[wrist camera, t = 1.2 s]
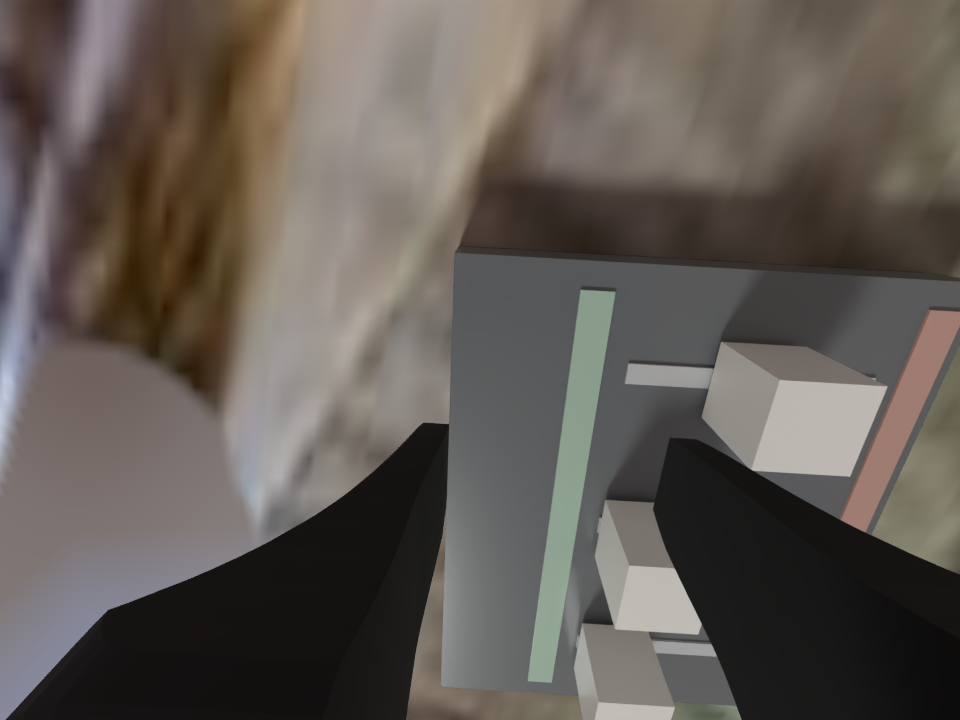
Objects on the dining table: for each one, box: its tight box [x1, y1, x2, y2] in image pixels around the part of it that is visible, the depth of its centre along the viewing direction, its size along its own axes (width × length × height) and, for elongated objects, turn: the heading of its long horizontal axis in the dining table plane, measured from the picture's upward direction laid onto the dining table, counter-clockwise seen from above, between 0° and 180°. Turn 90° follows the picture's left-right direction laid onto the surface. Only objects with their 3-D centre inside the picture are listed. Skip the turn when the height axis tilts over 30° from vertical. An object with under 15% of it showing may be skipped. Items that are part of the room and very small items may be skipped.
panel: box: [441, 246, 960, 706], centre depth 20 cm, size 18×22×2 cm
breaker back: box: [574, 623, 675, 720], centre depth 19 cm, size 3×3×3 cm
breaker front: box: [702, 342, 888, 477], centre depth 14 cm, size 3×3×3 cm
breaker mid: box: [595, 500, 702, 635], centre depth 17 cm, size 3×3×3 cm
